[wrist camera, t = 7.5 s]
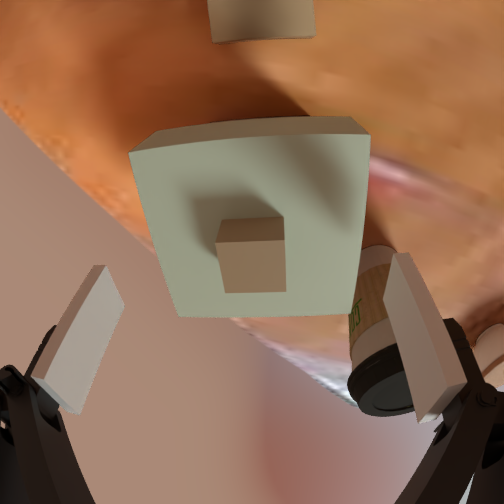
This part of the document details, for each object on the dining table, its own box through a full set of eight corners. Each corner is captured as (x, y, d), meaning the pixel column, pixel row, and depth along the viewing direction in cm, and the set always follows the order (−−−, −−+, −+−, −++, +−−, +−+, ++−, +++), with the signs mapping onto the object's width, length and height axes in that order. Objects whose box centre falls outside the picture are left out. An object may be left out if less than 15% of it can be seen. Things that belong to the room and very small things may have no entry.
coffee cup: (314, 288, 33) (325, 415, 21) (359, 215, 28) (408, 346, 16) (383, 309, 35) (412, 421, 23) (431, 248, 29) (490, 362, 17)
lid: (350, 116, 15) (384, 148, 10) (341, 272, 22) (355, 338, 17) (156, 131, 16) (108, 168, 12) (191, 277, 23) (171, 340, 18)
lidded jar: (453, 355, 41) (468, 402, 33) (489, 311, 34) (513, 360, 27) (490, 354, 41) (506, 396, 34) (524, 314, 35) (546, 356, 27)
